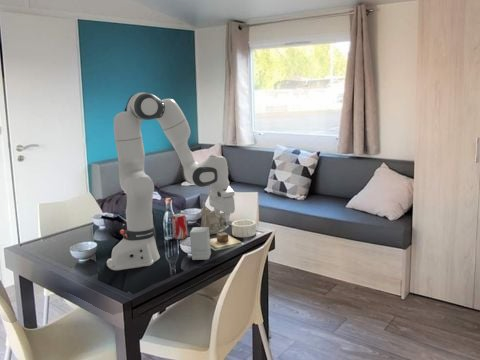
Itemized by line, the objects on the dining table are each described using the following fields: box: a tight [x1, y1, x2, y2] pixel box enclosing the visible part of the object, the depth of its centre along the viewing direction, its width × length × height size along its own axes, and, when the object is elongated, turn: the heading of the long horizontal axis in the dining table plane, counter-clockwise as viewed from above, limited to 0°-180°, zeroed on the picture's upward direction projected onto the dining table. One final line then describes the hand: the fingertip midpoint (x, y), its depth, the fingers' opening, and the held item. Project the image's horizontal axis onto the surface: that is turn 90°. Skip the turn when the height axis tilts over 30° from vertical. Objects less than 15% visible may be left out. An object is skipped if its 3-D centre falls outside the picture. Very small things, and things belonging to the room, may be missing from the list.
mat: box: [210, 242, 245, 251], centre depth 220 cm, size 15×15×1 cm
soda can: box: [171, 212, 188, 240], centre depth 230 cm, size 7×7×12 cm
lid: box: [210, 231, 243, 250], centre depth 220 cm, size 13×13×4 cm
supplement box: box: [189, 226, 212, 261], centre depth 202 cm, size 7×7×13 cm
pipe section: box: [231, 219, 257, 238], centre depth 231 cm, size 12×12×6 cm
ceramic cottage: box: [200, 201, 230, 235], centre depth 242 cm, size 16×16×15 cm
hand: (222, 219), depth 218 cm, fingers open, 8 cm apart
